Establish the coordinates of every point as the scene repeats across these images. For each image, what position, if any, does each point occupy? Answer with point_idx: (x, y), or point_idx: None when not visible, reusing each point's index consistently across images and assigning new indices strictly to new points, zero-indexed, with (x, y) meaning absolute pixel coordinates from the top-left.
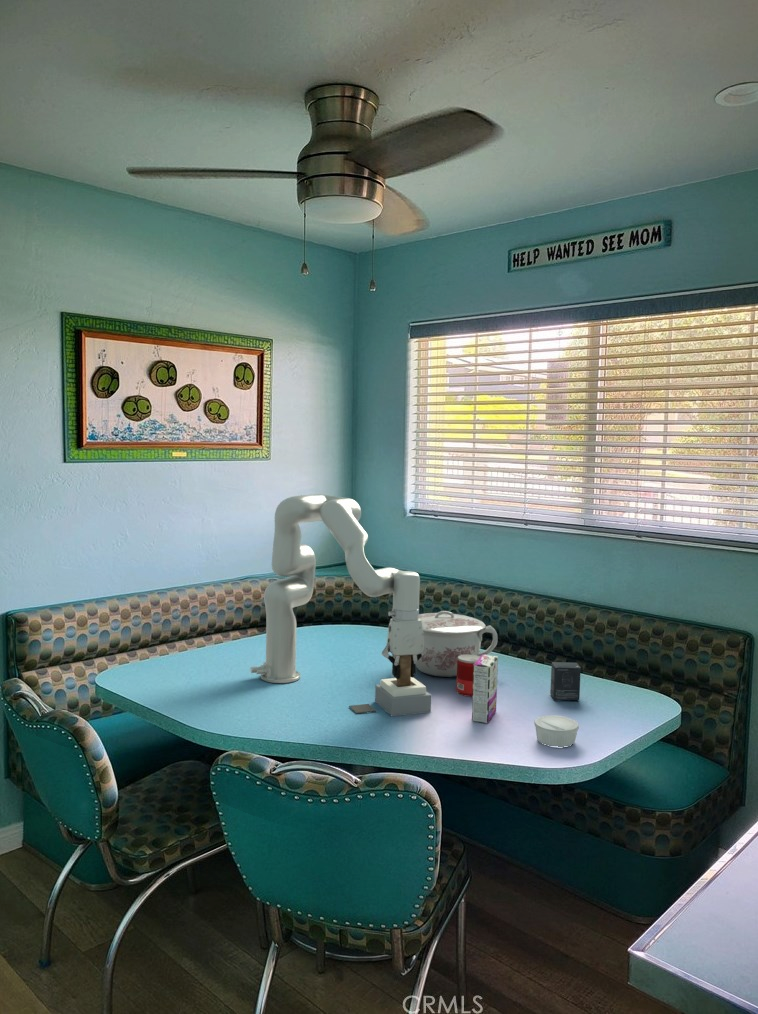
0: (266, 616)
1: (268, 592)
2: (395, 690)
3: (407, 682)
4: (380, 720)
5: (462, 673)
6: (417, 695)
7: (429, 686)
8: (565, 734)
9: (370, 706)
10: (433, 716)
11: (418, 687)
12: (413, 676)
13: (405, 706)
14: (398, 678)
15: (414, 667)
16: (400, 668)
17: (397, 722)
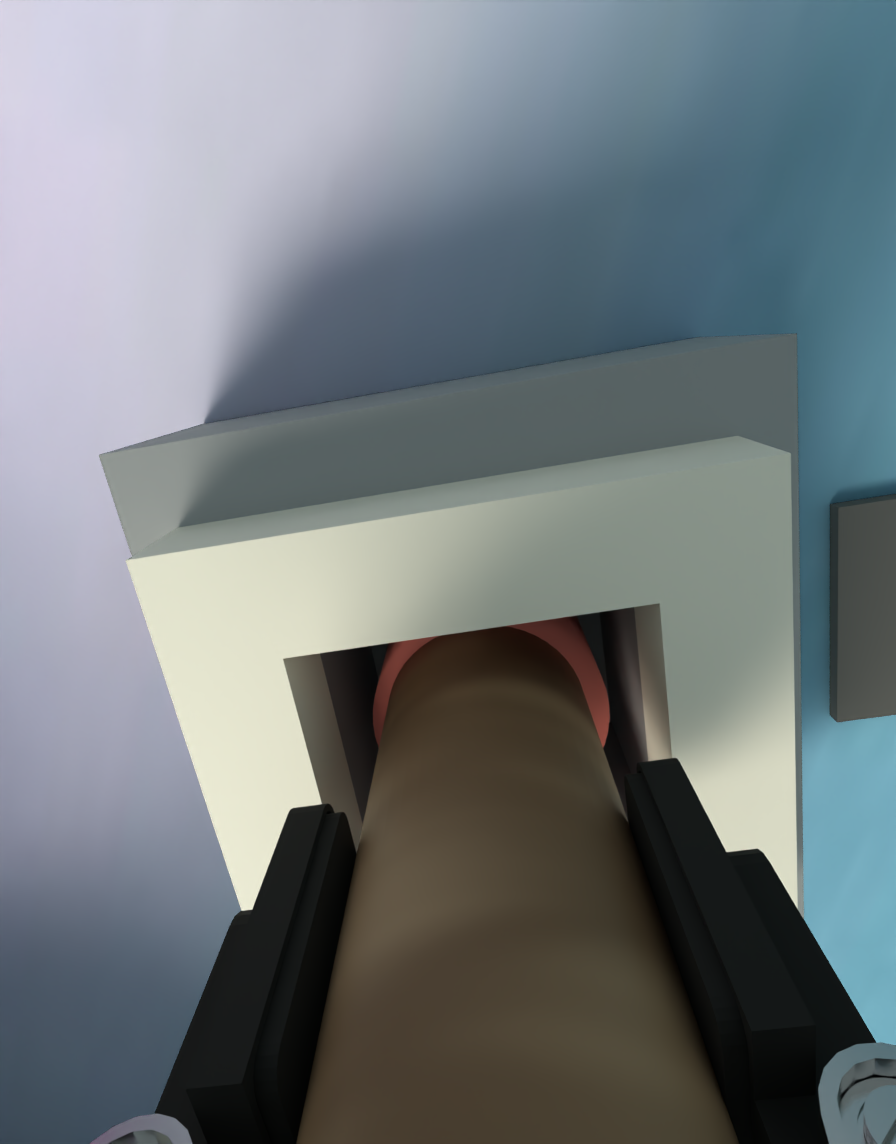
0: None
1: None
2: (751, 454)
3: (449, 712)
4: (886, 207)
5: None
6: (329, 454)
7: (107, 1078)
8: None
9: (848, 642)
10: (192, 271)
11: (276, 539)
12: (305, 814)
13: (533, 372)
14: (651, 761)
15: (225, 988)
16: (659, 966)
17: (698, 100)
